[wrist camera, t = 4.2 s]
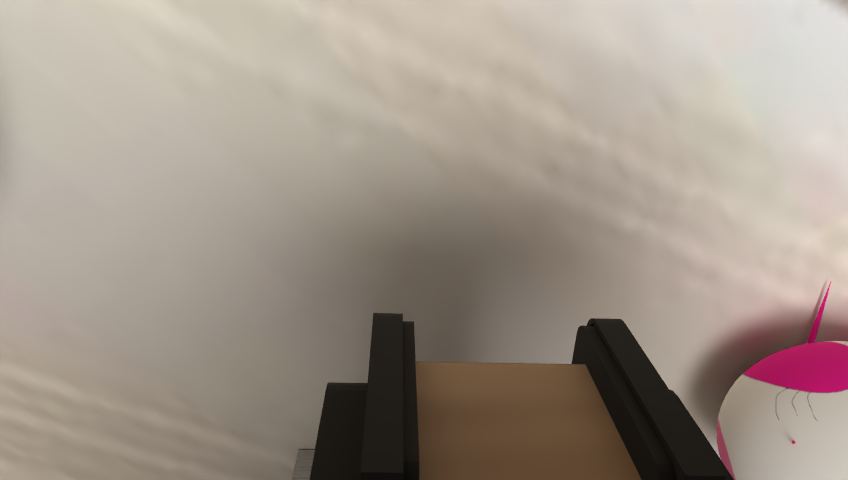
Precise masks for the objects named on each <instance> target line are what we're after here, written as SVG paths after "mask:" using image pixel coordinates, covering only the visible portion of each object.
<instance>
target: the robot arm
mask: <svg viewBox="0 0 848 480" xmlns="http://www.w3.org/2000/svg"><path fill="white" fill-rule="evenodd" d="M572 364H585V365H586V367H587V369H588V371H589V373H590V375H591V377H592V379H593V381H594V383H595V385H596V387H597V389H598V391H599V394H600V396H601V398H602V400H603V402H604V404H605V406H606V408H607V410H608V412H609V414H610V416H611V418H612V420H613V422H614V424H615V426H616V428H617V430H618V433H619V435H620V437H621V439H622V441H623V443H624V445H625V447H626V449H627V451H628V453H629V455H630V457H631V459H632V461H633V463H634V465H635V467H636V469H637V471H638V474H639V476H640V478H641V480H734V479H733V477H732V476H731V474H730V473H729V471H728V470H727V468H726V467H725V465H724V464H723V462H722V461H721V459H720V458H719V456H718V455H717V453H716V452H715V450H714V449H713V448H712V446H711V445H710V443H709V442H708V440H707V439H706V437H705V436H704V434H703V433H702V431H701V430H700V428H699V427H698V425H697V424H696V422H695V421H694V419H693V418H692V417H691V415H690V414H689V412H688V411H687V409H686V408H685V406H684V405H683V403H682V402H681V400H680V399H679V397H678V396H677V395H676V394H675V393H674V392H673V391H672V390H669V389H668V387H667V386H666V384H665V383H664V381H663V380H662V378H661V377H660V375H659V374H658V372H657V371H656V369H655V368H654V366H653V365H652V363H651V362H650V360H649V359H648V357H647V356H646V354H645V353H644V351H643V350H642V348H641V347H640V345H639V344H638V342H637V341H636V339H635V338H634V336H633V335H632V333H631V332H630V330H629V329H628V327H627V326H626V324H625V323H624V322H623V321H622V320H621V319H595V318H591V319H590V320H589V321H588V324H587V326H580V327H579V328H578V331H577V336H576V341H575V347H574V353H573V359H572ZM309 480H419V436H418V412H417V387H416V362H415V337H414V322H403V314H391V313H374V314H373V326H372V338H371V350H370V362H369V374H368V383H328V384H327V388H326V393H325V398H324V404H323V409H322V414H321V420H320V425H319V431H318V436H317V441H316V447H315V452H314V458H313V463H312V469H311V474H310V479H309Z"/></svg>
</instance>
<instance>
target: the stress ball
mask: <svg viewBox="0 0 848 480" xmlns="http://www.w3.org/2000/svg"><path fill="white" fill-rule="evenodd" d="M830 284H831V282H830ZM829 287H830V285H829ZM829 287H828V290H827V292H826V295H825V297H824V300H823V302H822V305H821V307H820V310H819V312H818V315H817V317H816V320H815V322H814V325H813V327H812V330H811V332H810V335H809V337H808V340H807V342H806V344H802V345H797V346H794V347H790V348H787V349H784V350H781V351H779V352H776V353H773V354H771V355H769V356H767V357H765V358H764V359H762V360H760V361H759V362H757V363H755V364H754V365H753V366H751V367H750V368H749V369H748V370H746V371H745V372H744V373H743V374H742V375H741V376H740V377H739V378H738V379H737V380H736V381H735V383H734V384H733V385H732V387H731V388H730V390H729V391H728V393H727V395H726V396H725V398H724V401H723V403H722V406H721V408H720V412H719V416H718V422H717V443H718V450H719V454H720V458H721V461H722V462H723V464H724V465H725V467H726V468H727V470H728V471H729V473H730V474H731V476H732V477H733V479H734V480H848V342H846V341H823V342H815V339H816V335H817V331H818V328H819V324H820V320H821V317H822V313H823V309H824V306H825V302H826V298H827V295H828V291H829ZM814 342H815V343H814Z"/></svg>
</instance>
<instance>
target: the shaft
mask: <svg viewBox="0 0 848 480" xmlns="http://www.w3.org/2000/svg"><path fill="white" fill-rule="evenodd" d="M416 387H417V412H418V436H419V480H641V478H640V476H639V474H638V471H637V469H636V467H635V465H634V463H633V461H632V459H631V457H630V455H629V453H628V451H627V449H626V447H625V445H624V443H623V441H622V439H621V437H620V435H619V433H618V430H617V428H616V426H615V424H614V422H613V420H612V418H611V416H610V414H609V412H608V410H607V408H606V406H605V404H604V402H603V400H602V398H601V396H600V394H599V391H598V389H597V387H596V385H595V383H594V381H593V379H592V377H591V375H590V373H589V371H588V369H587V367H586V365H585V364H525V363H462V362H416Z"/></svg>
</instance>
